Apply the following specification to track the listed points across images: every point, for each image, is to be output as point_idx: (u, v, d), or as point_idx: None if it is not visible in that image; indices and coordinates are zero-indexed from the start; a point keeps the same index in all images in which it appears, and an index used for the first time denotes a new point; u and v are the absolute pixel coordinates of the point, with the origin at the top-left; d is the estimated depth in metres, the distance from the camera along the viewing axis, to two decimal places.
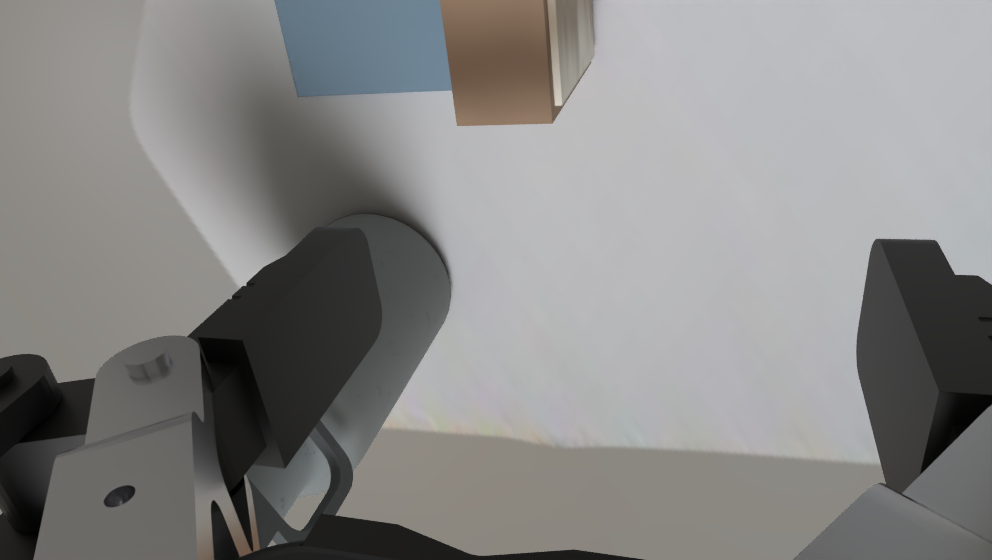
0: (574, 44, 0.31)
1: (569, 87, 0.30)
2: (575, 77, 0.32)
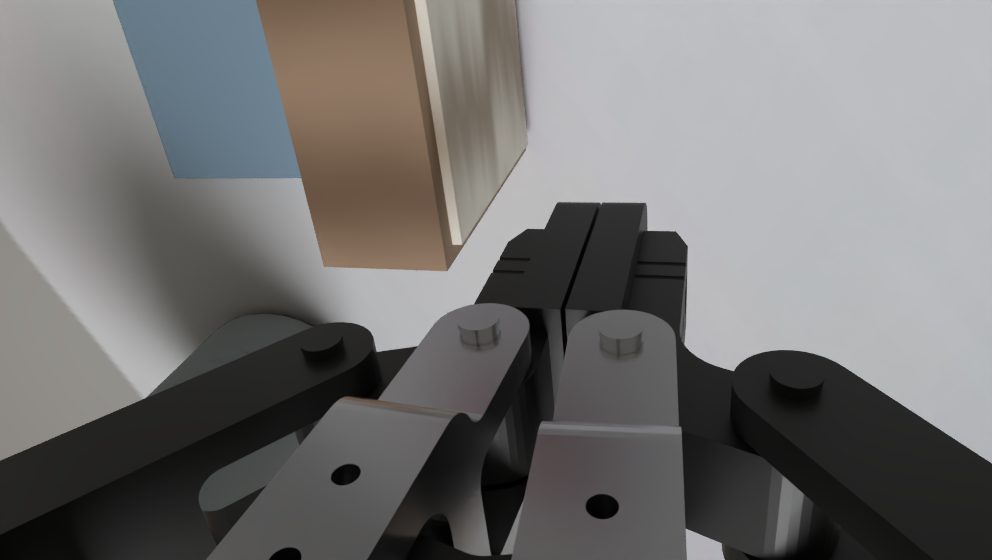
0: (487, 150, 0.23)
1: (477, 212, 0.23)
2: (490, 191, 0.24)
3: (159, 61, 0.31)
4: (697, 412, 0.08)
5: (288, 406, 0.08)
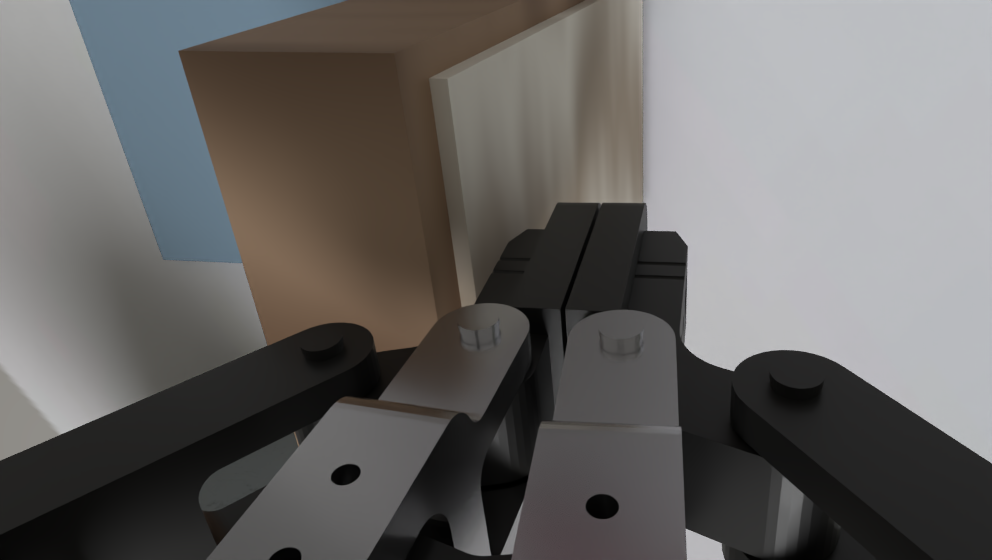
0: None
1: None
2: None
3: (143, 112, 0.23)
4: (697, 412, 0.08)
5: (288, 406, 0.08)
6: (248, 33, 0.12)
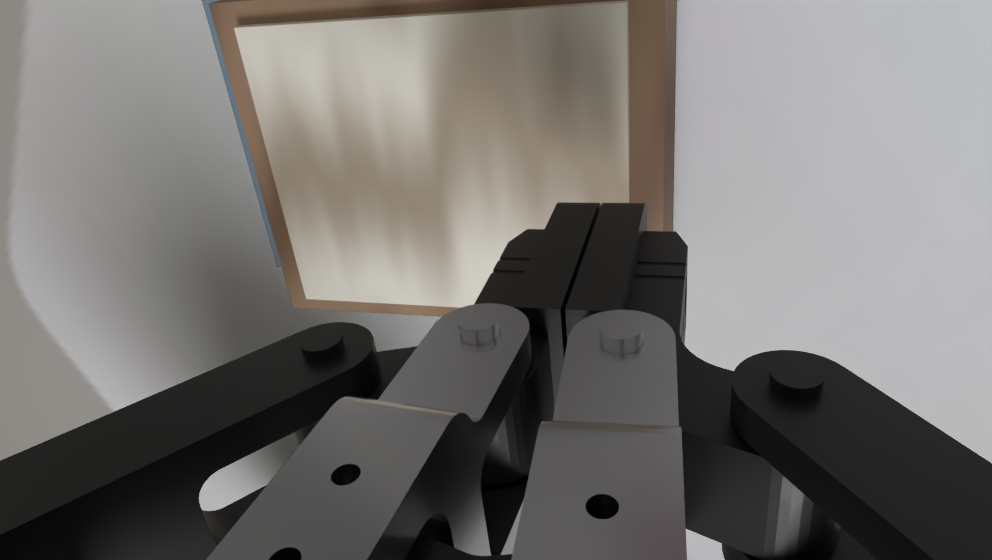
0: (415, 247, 0.18)
1: (360, 293, 0.19)
2: (416, 295, 0.18)
3: None
4: (697, 412, 0.08)
5: (288, 406, 0.08)
6: None
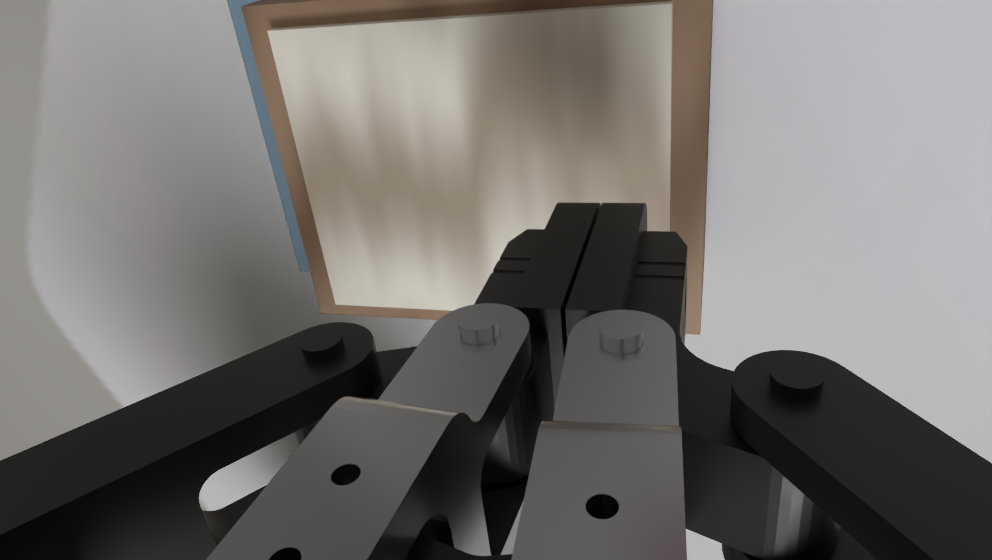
0: (448, 252, 0.18)
1: (391, 298, 0.19)
2: (449, 300, 0.18)
3: None
4: (697, 412, 0.08)
5: (288, 406, 0.08)
6: None
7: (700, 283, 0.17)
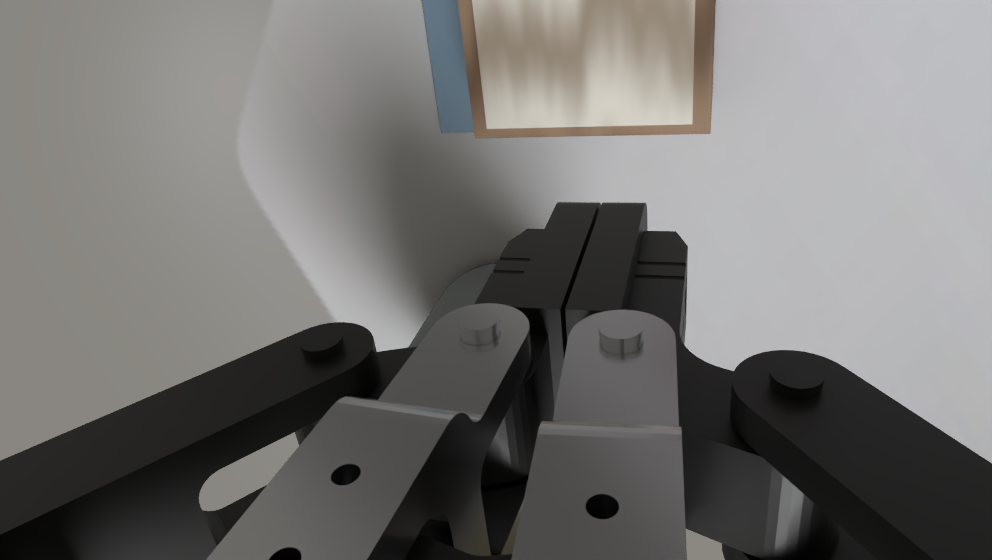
0: (562, 88, 0.30)
1: (523, 121, 0.31)
2: (559, 120, 0.30)
3: (450, 20, 0.34)
4: (697, 412, 0.08)
5: (288, 406, 0.08)
6: None
7: (710, 99, 0.29)
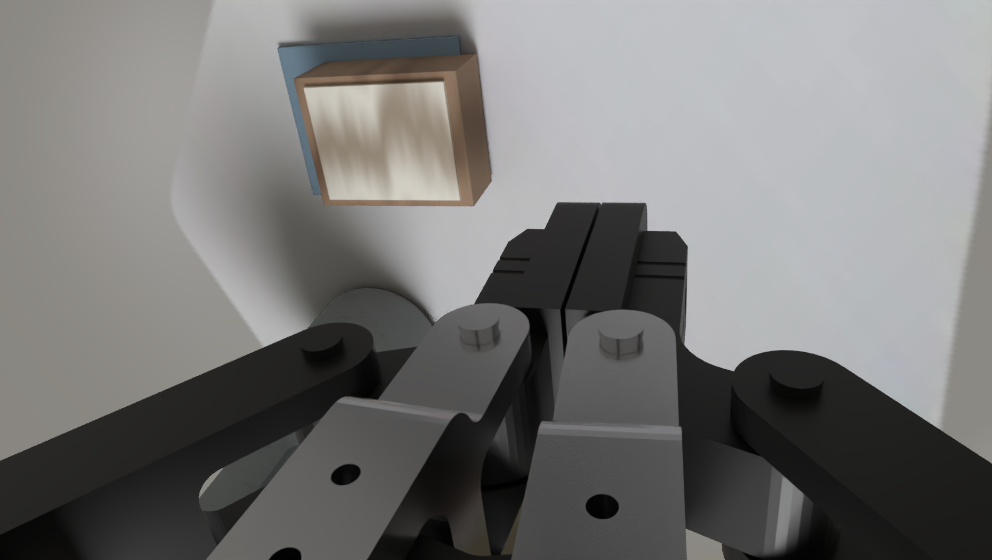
0: (374, 174, 0.44)
1: (353, 195, 0.45)
2: (376, 195, 0.44)
3: None
4: (697, 412, 0.08)
5: (288, 406, 0.08)
6: (339, 62, 0.45)
7: (470, 184, 0.43)
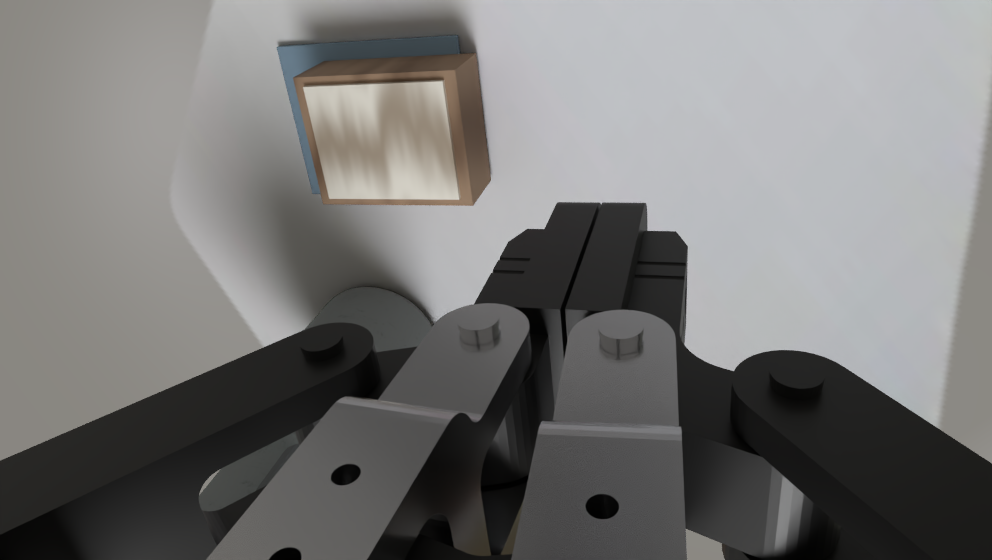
0: (374, 173, 0.44)
1: (352, 194, 0.45)
2: (375, 194, 0.44)
3: None
4: (697, 412, 0.08)
5: (288, 406, 0.08)
6: (338, 61, 0.45)
7: (469, 183, 0.43)
